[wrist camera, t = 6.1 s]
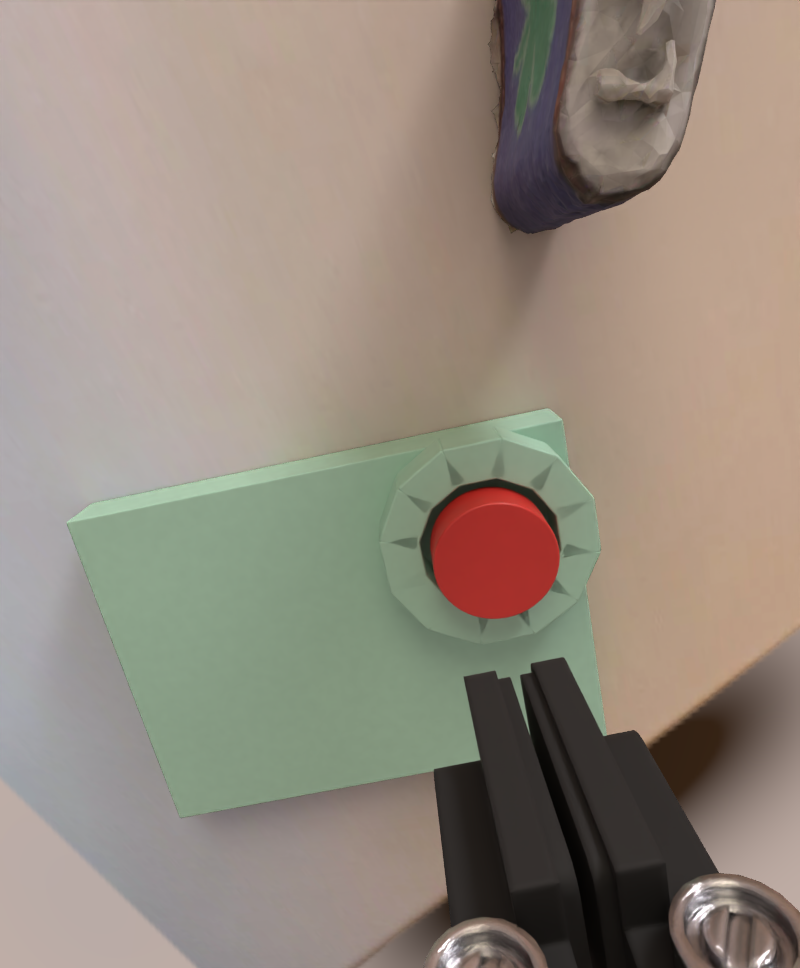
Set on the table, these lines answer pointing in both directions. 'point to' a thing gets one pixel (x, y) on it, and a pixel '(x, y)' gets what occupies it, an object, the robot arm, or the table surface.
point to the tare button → (493, 553)
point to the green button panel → (329, 611)
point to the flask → (589, 102)
